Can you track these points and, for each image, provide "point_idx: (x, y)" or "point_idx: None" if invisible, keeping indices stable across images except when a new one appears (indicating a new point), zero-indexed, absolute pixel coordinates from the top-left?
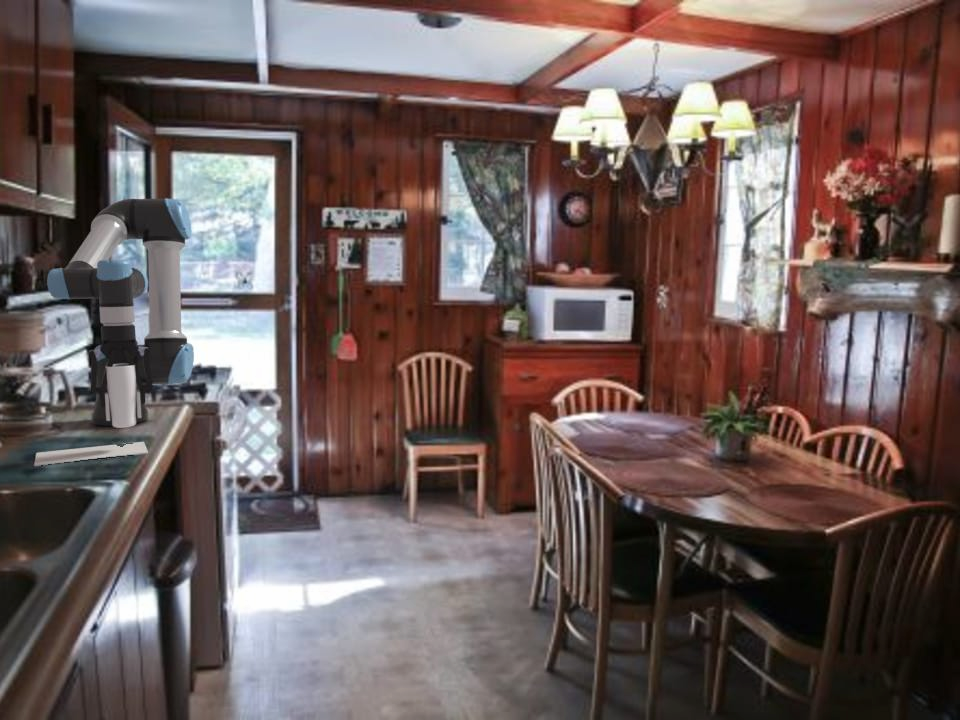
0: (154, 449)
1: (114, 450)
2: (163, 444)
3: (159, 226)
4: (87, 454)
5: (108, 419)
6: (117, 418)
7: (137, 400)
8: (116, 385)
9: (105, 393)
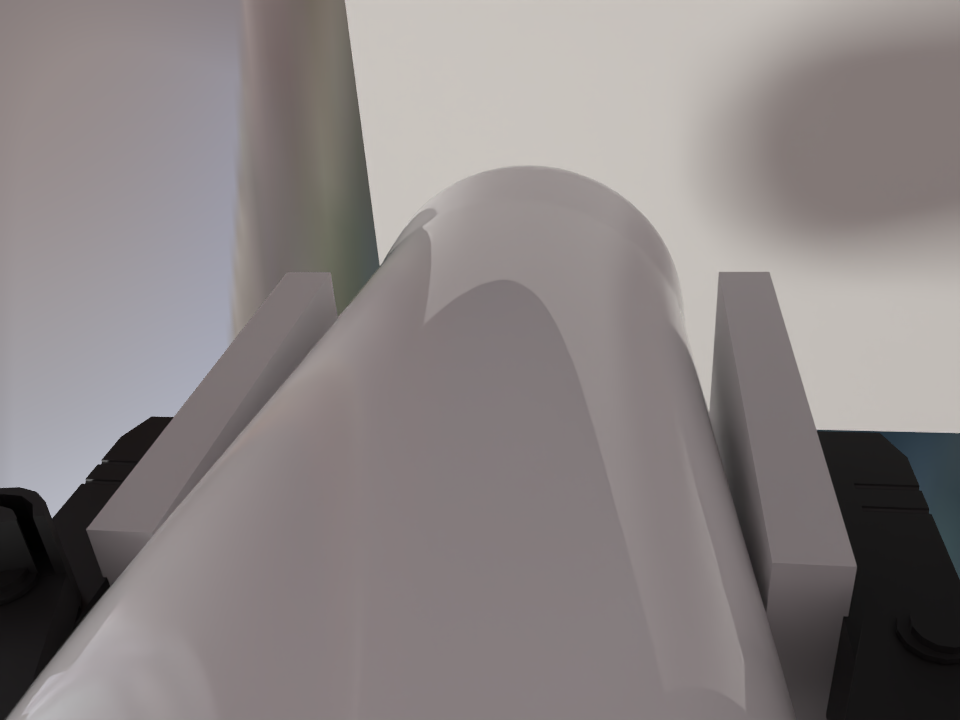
0: (295, 112)
1: (666, 178)
2: (235, 287)
3: None
4: (948, 116)
5: (743, 282)
6: (613, 228)
7: (223, 419)
8: (554, 571)
9: (822, 665)
